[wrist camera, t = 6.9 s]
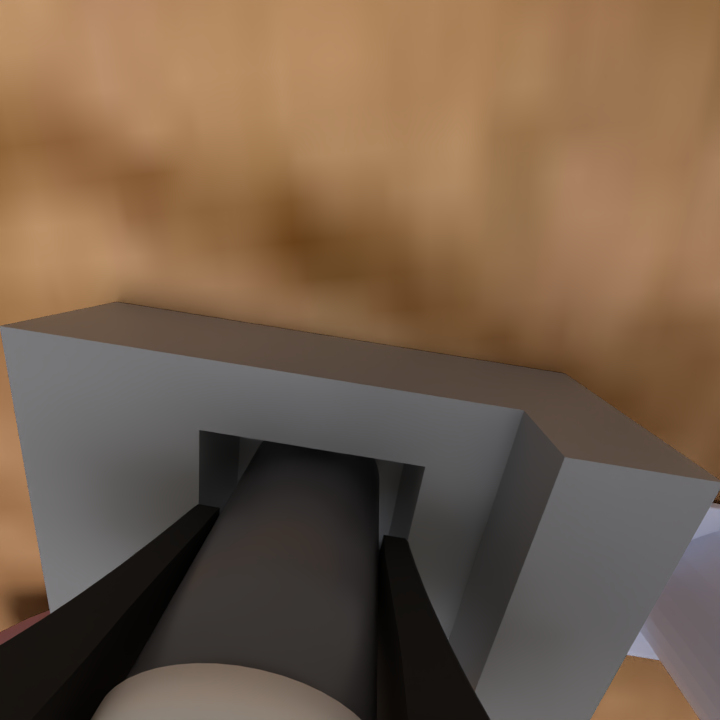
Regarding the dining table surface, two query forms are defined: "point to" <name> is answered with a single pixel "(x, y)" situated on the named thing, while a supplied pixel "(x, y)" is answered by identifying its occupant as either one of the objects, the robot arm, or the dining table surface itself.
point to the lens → (272, 602)
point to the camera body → (396, 477)
